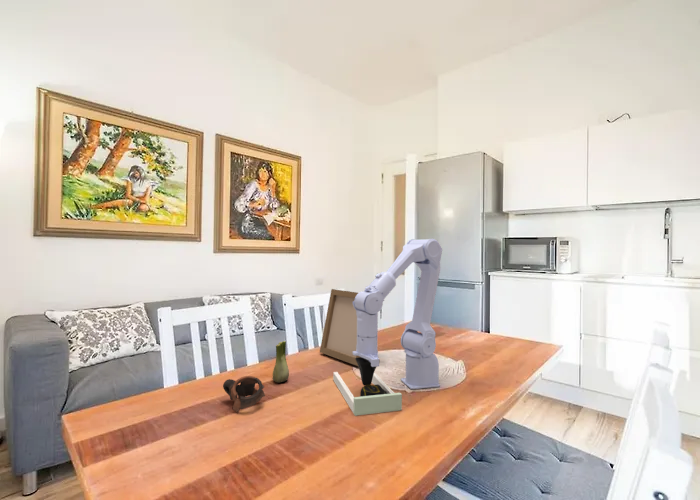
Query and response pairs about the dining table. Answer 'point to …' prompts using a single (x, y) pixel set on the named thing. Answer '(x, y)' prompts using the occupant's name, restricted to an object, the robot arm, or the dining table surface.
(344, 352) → the photo frame
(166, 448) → the dining table surface
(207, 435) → the dining table surface
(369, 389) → the tape measure
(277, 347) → the fennel bulb
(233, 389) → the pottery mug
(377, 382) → the bay
